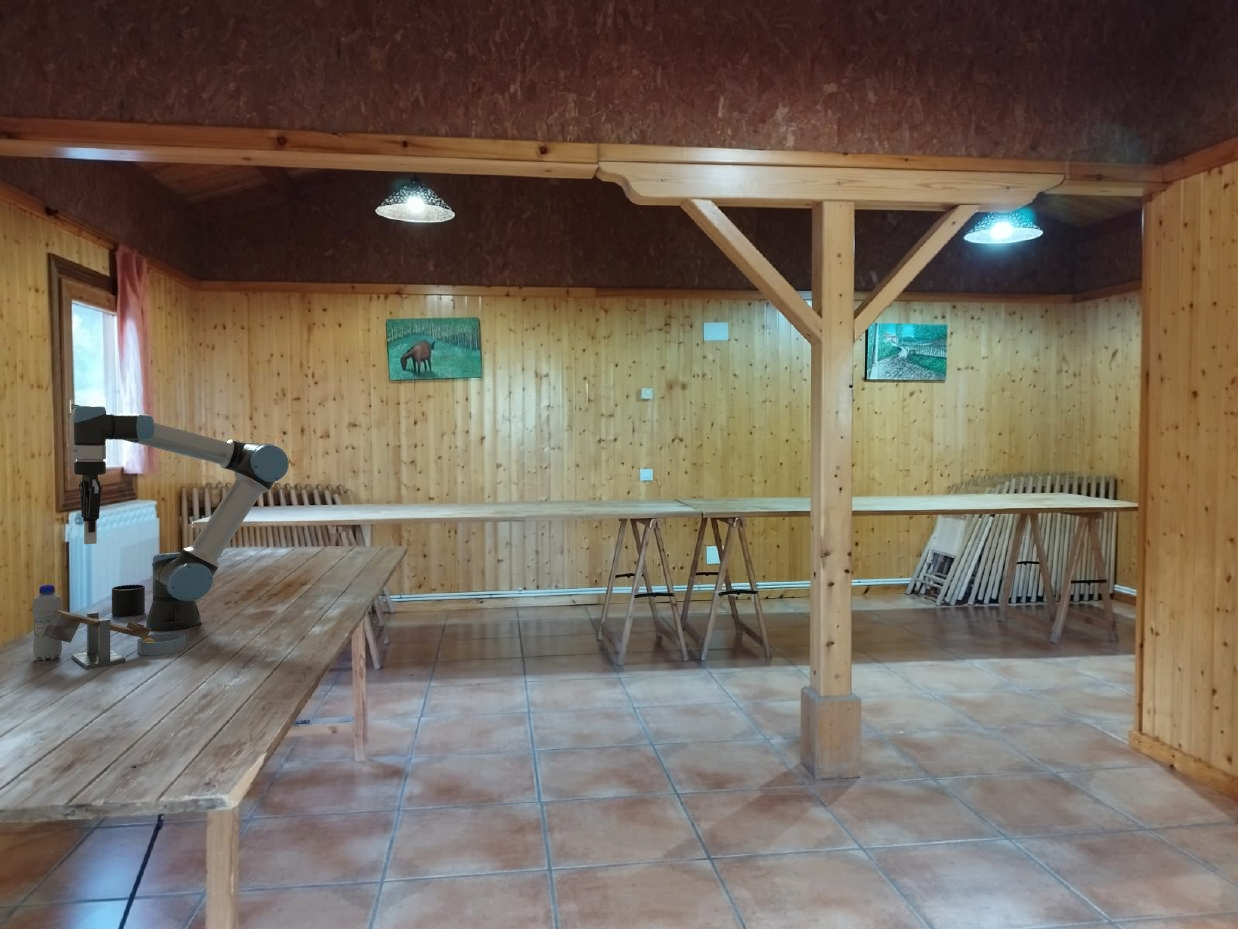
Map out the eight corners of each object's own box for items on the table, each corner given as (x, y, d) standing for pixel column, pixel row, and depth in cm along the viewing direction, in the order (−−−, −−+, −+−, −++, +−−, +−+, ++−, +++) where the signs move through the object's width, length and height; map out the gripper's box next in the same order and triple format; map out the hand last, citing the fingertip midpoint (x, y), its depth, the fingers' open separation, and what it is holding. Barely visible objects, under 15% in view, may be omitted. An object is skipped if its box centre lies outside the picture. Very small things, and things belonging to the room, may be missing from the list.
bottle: (27, 662, 214) (27, 587, 213) (38, 655, 220) (38, 582, 219) (57, 661, 215) (56, 586, 215) (66, 654, 222) (66, 582, 221)
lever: (50, 638, 206) (66, 607, 208) (42, 632, 211) (57, 602, 213) (138, 658, 221) (152, 629, 223) (129, 652, 226) (142, 624, 228)
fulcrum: (86, 669, 209) (86, 623, 209) (71, 658, 219) (71, 614, 218) (125, 662, 216) (125, 618, 215) (109, 652, 225) (109, 609, 225)
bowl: (146, 657, 221) (146, 645, 220) (132, 649, 228) (132, 637, 228) (190, 650, 229) (190, 638, 229) (176, 642, 237) (176, 630, 237)
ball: (138, 645, 226) (150, 647, 228) (140, 651, 224) (152, 653, 226) (144, 635, 226) (156, 637, 228) (146, 641, 224) (158, 643, 226)
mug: (150, 608, 278) (150, 582, 278) (140, 616, 266) (140, 589, 266) (119, 610, 275) (119, 583, 275) (107, 618, 264) (107, 590, 263)
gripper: (68, 459, 230) (68, 542, 231) (81, 461, 221) (81, 547, 222) (98, 459, 235) (98, 540, 236) (112, 461, 227) (112, 545, 228)
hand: (90, 543), depth 229 cm, fingers closed
